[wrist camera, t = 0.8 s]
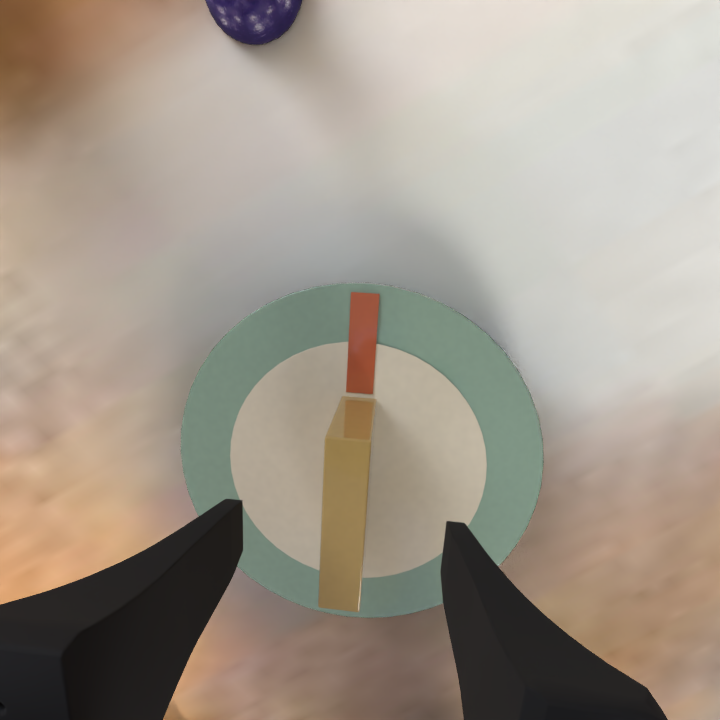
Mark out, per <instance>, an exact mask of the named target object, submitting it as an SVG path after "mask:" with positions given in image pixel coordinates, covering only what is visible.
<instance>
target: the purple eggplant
mask: <svg viewBox="0 0 720 720" xmlns="http://www.w3.org/2000/svg"><path fill="white" fill-rule="evenodd" d="M205 1H206V3H207V6H208V8H209V11H210V13H211V15H212V17H213V18H214V20H215V21H216V23H217V25H218V26H219V27H220V28H221V29H222V30H223V31H224V32H225V33H226V34H227V35H229V36H231V37H232V38H234V39H235V40H237V41H240V42H242V43H246V44H250V45H257V44H264V43H268V42H270V41H272V40H274V39H276V38H279V37H280V36H281V35H282V34H283V33H284V32H286V31H287V30H288V29H289V28H290V26H291V25H292V23H293V22H294V20H295V18H296V16H297V13H298V11H299V9H300V6H301V2H302V0H205Z"/></svg>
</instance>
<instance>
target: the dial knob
mask: <svg viewBox="0 0 720 720" xmlns="http://www.w3.org/2000/svg"><path fill="white" fill-rule="evenodd" d="M181 457H182V465H183V473H184V477H185V480H186V484H187V488H188V492H189V495H190V497H191V500H192V502H193V505H194V507H195V510H196V512H197V514H198V516H200V515H202V514H203V513H205V512H206V511H208V510H209V509H211V508H212V507H214V506H215V505H217V504H218V503H220V502H221V501H223V500H225V499H235V500H243V552H242V554H241V557H240V560H239V562H238V565H237V567H238V568H240V569H241V570H242V571H243V572H244V573H245V574H246V575H248V576H249V577H250V578H252V579H253V580H254V581H256V582H257V583H259V584H260V585H262V586H263V587H265V588H266V589H268V590H270V591H272V592H273V593H275V594H277V595H279V596H281V597H283V598H284V599H287V600H289V601H292V602H294V603H296V604H299V605H301V606H304V607H307V608H310V609H314V610H317V611H321V612H324V613H329V614H335V615H341V616H346V617H361V618H378V617H392V616H399V615H405V614H411V613H415V612H418V611H422V610H426V609H429V608H432V607H435V606H437V605H440V604H442V603H443V596H442V585H441V574H440V570H441V562H442V554H443V546H444V538H445V529H446V521H452V522H462V523H465V524H466V525H467V526H468V528H469V529H470V530H471V532H472V533H473V535H474V536H475V537H476V539H477V540H478V542H479V543H480V544H481V546H482V547H483V548H484V550H485V551H486V552H487V554H488V555H489V556H490V557H491V559H492V560H493V561H494V562H495V564H496V565H497V566H499V565H500V564H501V563H502V562H503V561H504V560H505V558H506V557H507V556H508V555H509V553H510V552H511V551H512V550H513V549H514V547H515V546H516V545H517V543H518V541H519V540H520V538H521V536H522V535H523V533H524V531H525V530H526V528H527V526H528V524H529V521H530V519H531V516H532V514H533V512H534V509H535V507H536V503H537V499H538V495H539V491H540V488H541V482H542V472H543V463H544V461H543V439H542V434H541V429H540V424H539V418H538V415H537V412H536V409H535V406H534V403H533V400H532V398H531V395H530V392H529V391H528V389H527V387H526V385H525V383H524V381H523V379H522V377H521V375H520V373H519V372H518V370H517V369H516V367H515V366H514V365H513V363H512V362H511V361H510V359H509V358H508V356H507V355H506V354H505V352H504V351H503V350H502V349H501V348H500V347H499V346H498V345H497V344H496V343H495V342H494V341H493V340H492V339H491V338H490V337H489V335H488V334H487V333H486V332H484V331H483V330H482V329H480V328H479V327H478V326H477V325H475V324H474V323H473V322H471V321H470V320H469V319H468V318H466V317H465V316H463V315H462V314H460V313H458V312H457V311H455V310H453V309H452V308H450V307H448V306H446V305H445V304H443V303H441V302H439V301H437V300H434V299H432V298H429V297H427V296H425V295H422V294H420V293H417V292H414V291H410V290H406V289H402V288H399V287H395V286H390V285H382V284H374V283H337V284H330V285H323V286H316V287H312V288H309V289H305V290H302V291H298V292H295V293H291V294H288V295H286V296H284V297H281V298H279V299H277V300H275V301H272V302H270V303H268V304H266V305H264V306H263V307H261V308H260V309H258V310H256V311H255V312H253V313H252V314H250V315H248V316H247V317H245V318H244V319H243V320H242V321H241V322H239V323H238V324H237V325H236V326H235V327H233V328H232V329H231V330H230V331H229V332H228V333H227V334H226V335H225V336H224V337H223V338H222V339H221V341H220V342H219V343H218V344H217V345H216V346H215V347H214V348H213V350H212V351H211V353H210V354H209V356H208V357H207V359H206V360H205V362H204V363H203V365H202V366H201V368H200V370H199V372H198V374H197V376H196V378H195V380H194V382H193V385H192V387H191V389H190V393H189V396H188V399H187V402H186V406H185V409H184V415H183V422H182V428H181Z"/></svg>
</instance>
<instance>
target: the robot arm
mask: <svg viewBox="0 0 720 720" xmlns="http://www.w3.org/2000/svg"><path fill="white" fill-rule="evenodd" d="M242 552H243V500H235V499H225V500H223V501H221V502H220V503H218V504H217V505H215V506H214V507H212V508H211V509H209V510H208V511H206V512H205V513H203V514H202V515H200V516H199V517H197V518H196V519H194V520H193V521H191V522H190V523H188V524H187V525H185V526H184V527H182V528H181V529H179V530H178V531H176V532H174V533H173V534H171V535H169V536H168V537H166V538H164V539H163V540H161V541H160V542H158V543H156V544H155V545H153V546H151V547H149V548H147V549H146V550H144V551H142V552H140V553H138V554H136V555H134V556H132V557H130V558H128V559H126V560H124V561H122V562H120V563H118V564H116V565H113V566H111V567H109V568H106V569H104V570H102V571H99V572H97V573H95V574H92V575H90V576H88V577H85V578H83V579H80V580H77V581H75V582H72V583H69V584H67V585H64V586H61V587H58V588H55V589H52V590H49V591H46V592H43V593H40V594H36V595H33V596H29V597H26V598H22V599H19V600H15V601H12V602H8V603H5V604H1V605H0V720H163V717H164V715H165V713H166V710H167V708H168V705H169V703H170V701H171V698H172V696H173V693H174V691H175V689H176V686H177V684H178V682H179V680H180V677H181V675H182V673H183V671H184V668H185V666H186V664H187V661H188V659H189V657H190V655H191V653H192V651H193V649H194V647H195V645H196V643H197V641H198V639H199V637H200V635H201V634H202V632H203V630H204V628H205V626H206V625H207V623H208V621H209V619H210V617H211V616H212V614H213V612H214V610H215V608H216V607H217V605H218V603H219V601H220V599H221V597H222V596H223V594H224V592H225V590H226V588H227V586H228V585H229V583H230V581H231V579H232V577H233V574H234V572H235V570H236V567H237V565H238V562H239V560H240V557H241V554H242ZM440 574H441V585H442V596H443V604H444V609H445V614H446V619H447V624H448V629H449V634H450V639H451V644H452V648H453V653H454V658H455V663H456V668H457V673H458V678H459V684H460V690H461V699H462V707H463V716H464V720H668V719H667V718H666V716H665V714H664V713H663V711H662V709H661V708H660V706H659V705H658V703H657V702H656V700H655V699H654V698H653V696H652V695H651V693H650V692H649V690H648V689H647V688H646V687H645V686H643V685H641V684H640V683H638V682H637V681H635V680H633V679H632V678H630V677H629V676H627V675H625V674H624V673H622V672H621V671H619V670H617V669H616V668H614V667H613V666H611V665H609V664H608V663H606V662H605V661H603V660H602V659H601V658H599V657H598V656H596V655H595V654H593V653H592V652H591V651H589V650H588V649H586V648H585V647H584V646H582V645H581V644H580V643H578V642H577V641H576V640H574V639H573V638H572V637H570V636H569V635H568V634H567V633H565V632H564V631H563V630H562V629H561V628H559V627H558V626H557V625H556V624H555V623H553V622H552V621H551V620H550V619H549V618H547V617H546V616H545V615H544V614H543V613H542V612H541V611H540V610H539V609H538V608H537V607H535V606H534V605H533V604H532V603H531V602H530V601H529V600H528V599H527V598H526V597H525V596H524V595H523V594H522V593H521V592H520V591H519V590H518V589H517V588H516V587H515V586H514V584H513V583H512V582H511V581H510V580H509V579H508V578H507V577H506V576H505V574H504V573H503V572H502V571H501V570H500V568H499V567H498V566H497V565H496V564H495V562H494V561H493V560H492V559H491V557H490V556H489V555H488V554H487V552H486V551H485V550H484V548H483V547H482V546H481V544H480V543H479V542H478V540H477V539H476V537H475V536H474V535H473V533H472V532H471V530H470V529H469V528H468V526H467V525H466V524H465V523H462V522H452V521H446V529H445V538H444V546H443V554H442V562H441V570H440Z"/></svg>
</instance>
